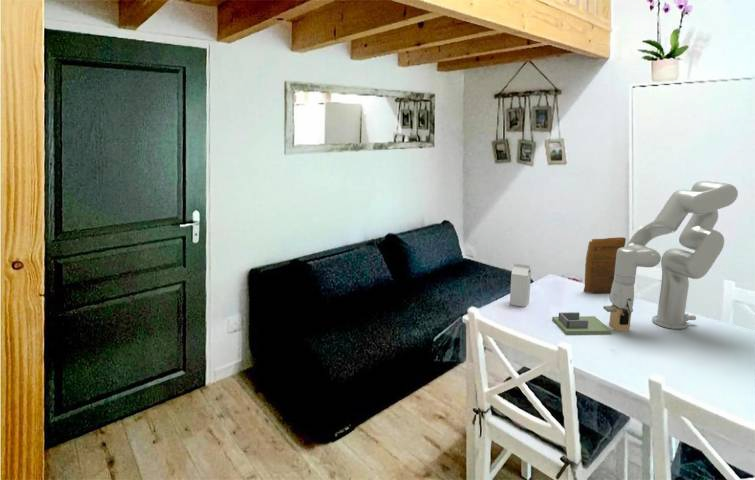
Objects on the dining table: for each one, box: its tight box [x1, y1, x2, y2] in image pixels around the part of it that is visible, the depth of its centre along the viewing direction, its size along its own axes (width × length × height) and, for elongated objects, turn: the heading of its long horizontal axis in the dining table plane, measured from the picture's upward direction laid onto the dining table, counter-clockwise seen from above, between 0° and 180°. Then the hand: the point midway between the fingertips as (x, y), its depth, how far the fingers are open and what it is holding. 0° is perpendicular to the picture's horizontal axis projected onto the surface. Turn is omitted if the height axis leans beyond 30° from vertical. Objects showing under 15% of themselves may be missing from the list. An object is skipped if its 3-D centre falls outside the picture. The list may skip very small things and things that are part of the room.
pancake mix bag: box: [583, 237, 627, 294], centre depth 234 cm, size 7×19×28 cm, turn 90°
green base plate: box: [551, 311, 613, 336], centre depth 195 cm, size 18×15×4 cm
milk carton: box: [509, 263, 532, 308], centre depth 221 cm, size 7×7×19 cm
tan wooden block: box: [603, 304, 632, 332], centre depth 194 cm, size 9×6×9 cm, turn 90°
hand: (619, 320), depth 194 cm, fingers open, 5 cm apart
